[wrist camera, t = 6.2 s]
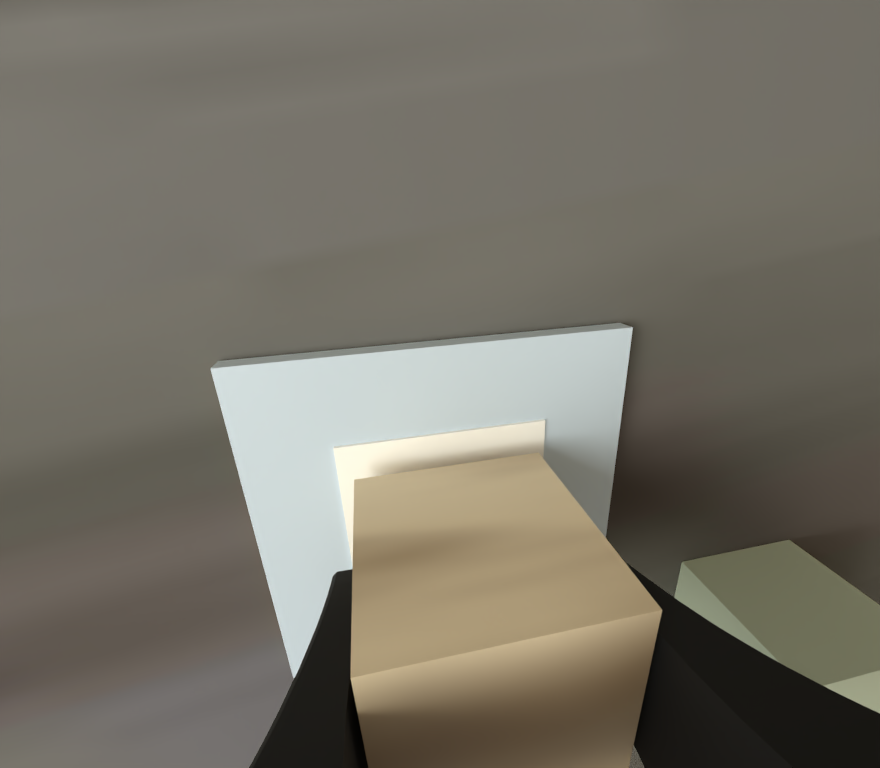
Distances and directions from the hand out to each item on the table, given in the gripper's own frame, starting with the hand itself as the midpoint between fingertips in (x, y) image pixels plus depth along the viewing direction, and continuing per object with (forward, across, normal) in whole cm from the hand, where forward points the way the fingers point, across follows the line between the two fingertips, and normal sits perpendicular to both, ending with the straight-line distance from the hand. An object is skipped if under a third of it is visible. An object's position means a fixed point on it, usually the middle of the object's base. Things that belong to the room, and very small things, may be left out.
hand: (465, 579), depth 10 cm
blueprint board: (+3, 0, 0) cm, 3 cm away
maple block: (+2, 0, 0) cm, 2 cm away
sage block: (+3, -12, +7) cm, 14 cm away
